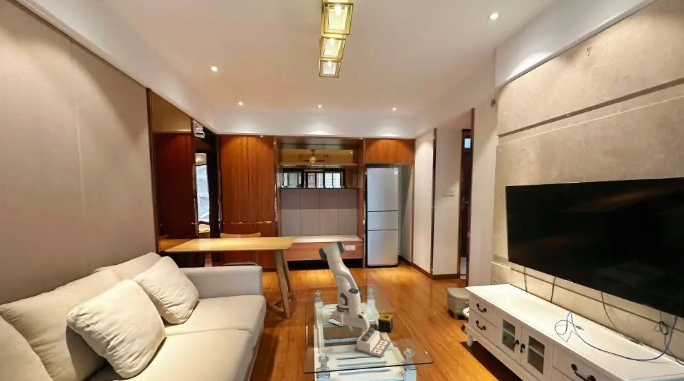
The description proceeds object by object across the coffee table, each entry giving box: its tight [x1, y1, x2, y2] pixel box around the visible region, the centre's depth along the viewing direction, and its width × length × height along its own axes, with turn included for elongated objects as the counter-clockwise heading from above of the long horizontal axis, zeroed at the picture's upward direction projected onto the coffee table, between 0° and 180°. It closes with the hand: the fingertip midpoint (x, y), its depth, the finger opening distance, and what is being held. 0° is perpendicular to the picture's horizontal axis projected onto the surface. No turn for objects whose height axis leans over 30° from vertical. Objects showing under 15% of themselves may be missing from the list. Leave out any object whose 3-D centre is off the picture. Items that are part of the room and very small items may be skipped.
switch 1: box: [361, 335, 368, 342], centre depth 179 cm, size 4×4×6 cm
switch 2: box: [368, 327, 376, 334], centre depth 188 cm, size 4×4×6 cm
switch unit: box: [353, 328, 392, 359], centre depth 182 cm, size 20×19×7 cm
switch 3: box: [365, 331, 372, 338], centre depth 184 cm, size 4×4×6 cm
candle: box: [377, 313, 394, 334], centre depth 204 cm, size 10×10×10 cm
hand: (356, 332), depth 181 cm, fingers open, 8 cm apart
